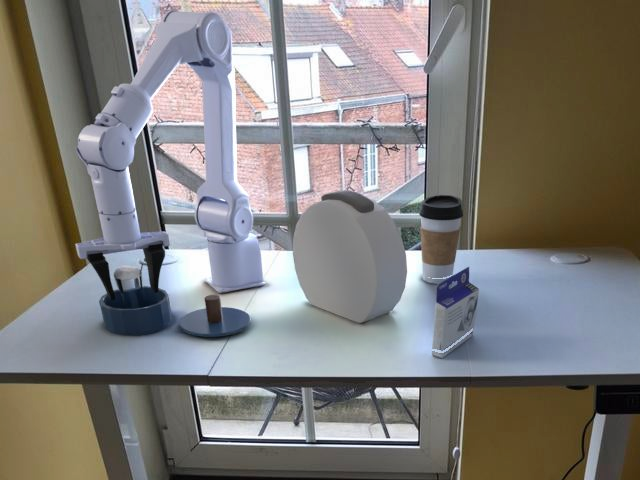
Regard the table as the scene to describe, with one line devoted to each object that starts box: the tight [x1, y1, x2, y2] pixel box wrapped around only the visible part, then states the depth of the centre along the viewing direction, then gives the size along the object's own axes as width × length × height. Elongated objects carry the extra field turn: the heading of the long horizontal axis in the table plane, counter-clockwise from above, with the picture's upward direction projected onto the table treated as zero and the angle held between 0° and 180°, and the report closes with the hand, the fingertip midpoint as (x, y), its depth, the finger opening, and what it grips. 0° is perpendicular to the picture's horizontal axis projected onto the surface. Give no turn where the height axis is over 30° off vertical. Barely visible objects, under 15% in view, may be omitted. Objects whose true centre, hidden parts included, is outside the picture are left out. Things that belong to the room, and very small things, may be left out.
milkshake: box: [113, 262, 145, 309], centre depth 124 cm, size 4×5×10 cm
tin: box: [98, 285, 173, 336], centre depth 126 cm, size 11×11×4 cm
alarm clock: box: [292, 189, 408, 324], centre depth 128 cm, size 21×8×20 cm, turn 47°
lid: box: [178, 294, 252, 338], centre depth 125 cm, size 12×12×5 cm
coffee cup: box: [418, 194, 464, 285], centre depth 142 cm, size 8×8×15 cm
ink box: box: [431, 266, 480, 359], centre depth 118 cm, size 12×2×12 cm, turn 148°
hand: (133, 294), depth 124 cm, fingers open, 7 cm apart
